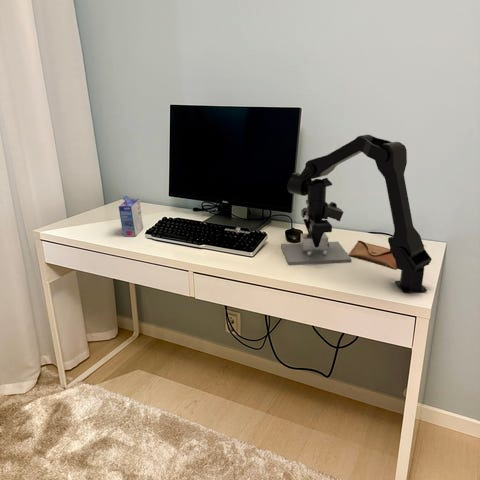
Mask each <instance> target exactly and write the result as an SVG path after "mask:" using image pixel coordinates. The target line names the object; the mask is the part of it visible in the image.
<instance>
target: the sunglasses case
mask: <svg viewBox="0 0 480 480" xmlns="http://www.w3.org/2000/svg"><path fill="white" fill-rule="evenodd" d="M348 255H349V257H350V258H354V259H359V260H361V261H362V260H363V261H366V262H369V263H374V264H375V265H380V266H383V267H386V268H388V269H389V268H390V269H392V270H398V269H397V265H396V261H395V259H394V257H393V255H392V252H391V253H390V248H389V247H384V246H380V245H377V244H373V243H369V242H365V241H362V240H357V242H356V244H355V245H354V246H353V248H352V249H351V251H350V252H349V253H348Z"/></svg>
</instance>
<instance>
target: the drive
mask: <svg viewBox="0 0 480 480" xmlns="http://www.w3.org/2000/svg"><path fill="white" fill-rule="evenodd" d="M328 242H329V236H328V235H327V234H326V232H325V233H323V235H322V238H321V241H320V244H319V247H315V246H314V243H313V240H312V237H311V234H310V233H308V232H307V233H300V243H301V247H302V249H303V250H325V249H328V247H329V243H328Z"/></svg>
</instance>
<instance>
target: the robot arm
mask: <svg viewBox="0 0 480 480" xmlns="http://www.w3.org/2000/svg"><path fill="white" fill-rule="evenodd" d="M360 153H363V154H364V156H366V157H367V158H369V159H372V160H374V162H375V165H376V168H377V170H378V172H380V174H381V175H382V177H383V179H384V180H385V185H386V192H387V196H388V202H389V207H390V212H391V218H392V224H393V228H394V231H393V235H391V236H390V237H388V238H387V242H388V244H389V249H390V253H391V252H392V255H393V257H394V259H395V261H396V265H397V269H396V270H399V271H400V278H399V280H395V282H394V283H395V285H396V286H397V287H398V288H399V289H400V290H401V291H402V292H403V294H404V293H407V294H409V293H426V292H427V291H428V289H427V288H426V287H425V286H424V285H423V281H424V275H425V267H426V266H429V265H430V263H431V262H432V257H431V256H430V255H429V253H428V251H426V249H425V246H424V243H423V239H422V238H421V235H420V233H419V232H418V231H417V230H416V228H415V226H414V225H413V224H414V223H413V222H414V221H413V218H412V213H411V208H410V207H411V206H410V202H409V196H408V190H407V189H408V188H407V185H406V179H405V171H406V168H407V163H408V160H407V159H408V157H407V156H408V155H407V153H408V152H407V147H406V145H405V144H403V143H402V142H400V141H391V140H388V139H383V138H379V137H377V136H374V135H371V134H363V135H358V136H356V138H354V139H353V140H351V141H349V142H348V143H346V144H344V145H342V146H341V147H339V148H337V149H335V150H334V151H331V152H330V153H328V154H326V155H322V156H319V157H316V158H313V159H312V158H311V159H309V160H307V161H306V163H305V165H304V169H303V170H302V171H301V173H298V172H293V173H291V177H290V178H289V180H288V181H287V184H286V189H287V191H288V193H289V194H294V195H298V196H303V197H305V196H307V197H306V198H307V199H305V204H306V206H307V207H304V208H302V209H301V211H300V212H301V213H300V214H301V215H300V216H301V217H302V220H303V221H302V222H303V223H304V225H305V228H306V231H307V233H310V234H311V237H312V240H313V243H314V246H315V247H319V244H320V241H321V238H322V235H323V233H325V234H326V233H332V231H333V225H332V224H331V223H330V221H328V219H329V218H330V219H333V220H335V221H337V222H341V219H342V217H343V215H344V211H343V210H342V209H341V208H340V207H338V206H337V203H336V202H333V201H330V203H328V202H327V199H326V197H327V188H328V187H331V186H333V183H332V182H331V181H330V180H329V178H328V177H325V176H328V175H329V174H330V173H331V172H333V171H334V170H335V168H336V167H337V166H339V165H340V164H343V163H344V162H346V161H348V160H350V159H352V158H353V157H355V156H357V155H359V154H360ZM321 177H325V178H322V179H321Z"/></svg>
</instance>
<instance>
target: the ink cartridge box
mask: <svg viewBox="0 0 480 480" xmlns="http://www.w3.org/2000/svg"><path fill="white" fill-rule="evenodd" d="M122 199H123V200H124V201H123V202H122V203H120V204H119V206H118V211H119V217H120V219H119V220H120V225H121V231H122V236H123V237H136V236H138V234H139V233H140V232H141V231H142V230H143V229H144V224H143V223H144V222H143V215H142V207H141V202H140V201H141V200H140V199H139V198H136V199H135V198H133V199H132V198H129V197H128V195H127V194H126V195H125V196H123V198H122Z"/></svg>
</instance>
